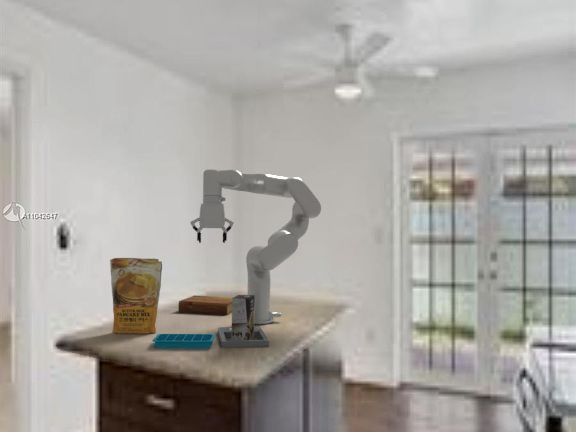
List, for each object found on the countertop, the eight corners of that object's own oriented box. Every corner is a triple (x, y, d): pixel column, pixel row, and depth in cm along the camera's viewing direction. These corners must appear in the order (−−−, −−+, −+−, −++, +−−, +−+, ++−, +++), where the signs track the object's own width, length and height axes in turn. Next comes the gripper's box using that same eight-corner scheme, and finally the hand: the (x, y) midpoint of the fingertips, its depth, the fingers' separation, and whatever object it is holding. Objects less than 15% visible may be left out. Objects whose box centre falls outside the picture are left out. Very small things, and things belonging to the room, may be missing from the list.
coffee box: (248, 344, 203) (249, 298, 203) (230, 343, 204) (231, 297, 204) (254, 339, 212) (255, 294, 212) (237, 338, 213) (238, 294, 213)
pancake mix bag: (111, 330, 224) (112, 257, 224) (161, 330, 224) (162, 257, 224) (106, 334, 217) (107, 258, 217) (158, 334, 217) (159, 259, 217)
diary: (178, 314, 264) (178, 301, 264) (194, 307, 282) (194, 295, 282) (226, 316, 259) (227, 303, 259) (239, 309, 277) (239, 297, 277)
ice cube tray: (212, 350, 196) (212, 341, 196) (151, 349, 195) (151, 340, 195) (215, 342, 207) (215, 333, 207) (158, 342, 207) (158, 333, 207)
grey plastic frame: (259, 331, 225) (259, 325, 225) (268, 346, 201) (268, 340, 201) (217, 332, 222) (218, 326, 222) (222, 347, 198) (222, 341, 198)
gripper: (233, 200, 241) (232, 242, 241) (190, 200, 238) (190, 242, 238) (234, 200, 234) (234, 243, 234) (190, 199, 231) (190, 243, 231)
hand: (211, 242), depth 236 cm, fingers open, 9 cm apart
